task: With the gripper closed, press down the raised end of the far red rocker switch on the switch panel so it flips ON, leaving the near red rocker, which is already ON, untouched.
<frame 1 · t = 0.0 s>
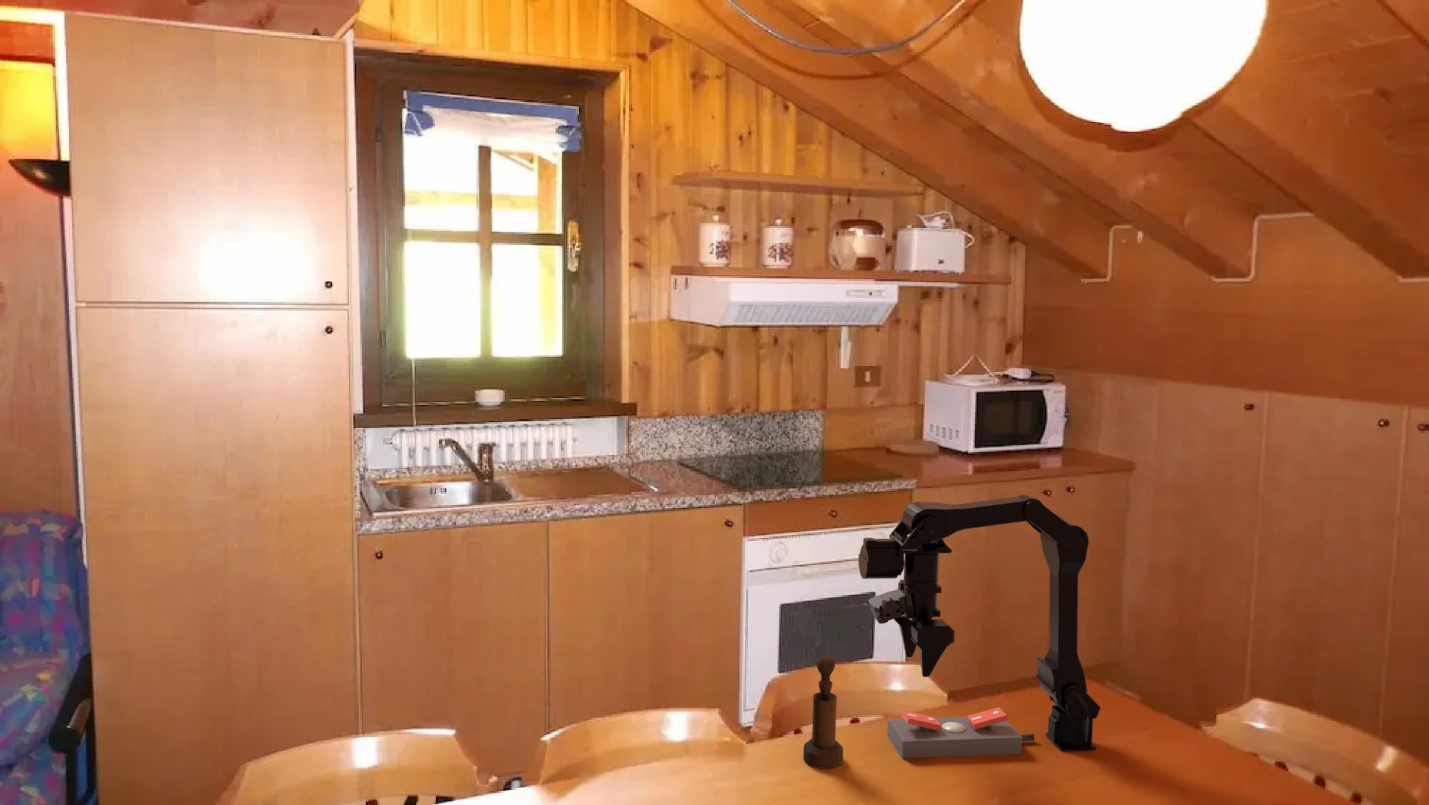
hand: (917, 666, 174), 15 cm above the table, tool pointing down, fingers open, 9 cm apart
switch far: (921, 720, 176), point 5 cm above the table, hinge at -14.0°
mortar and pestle: (823, 761, 171), on the table
switch panel: (953, 744, 177), on the table
switch near: (987, 718, 178), point 5 cm above the table, hinge at 14.0°
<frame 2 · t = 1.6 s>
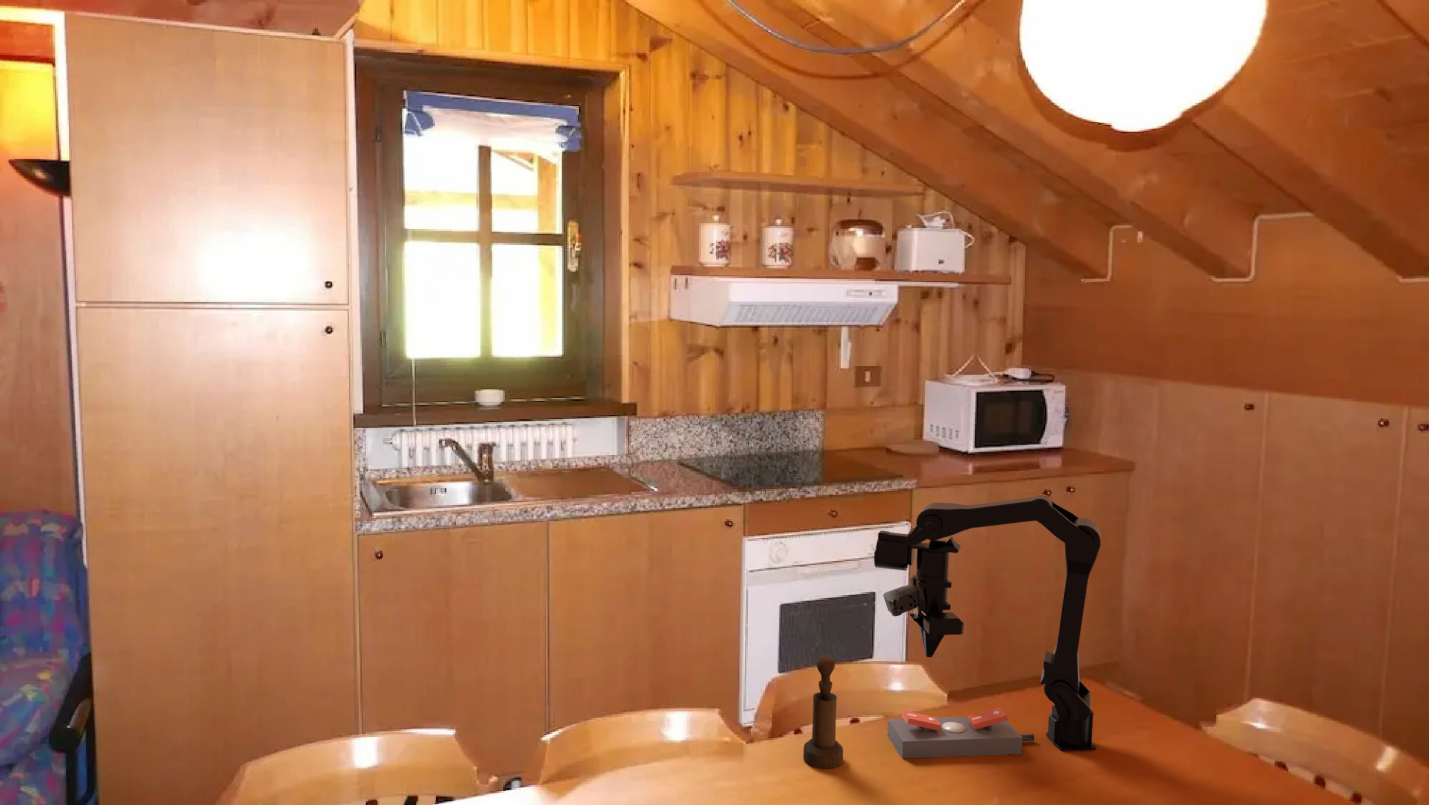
hand: (928, 656, 186), 12 cm above the table, tool pointing down, fingers closed
nothing on the table moved.
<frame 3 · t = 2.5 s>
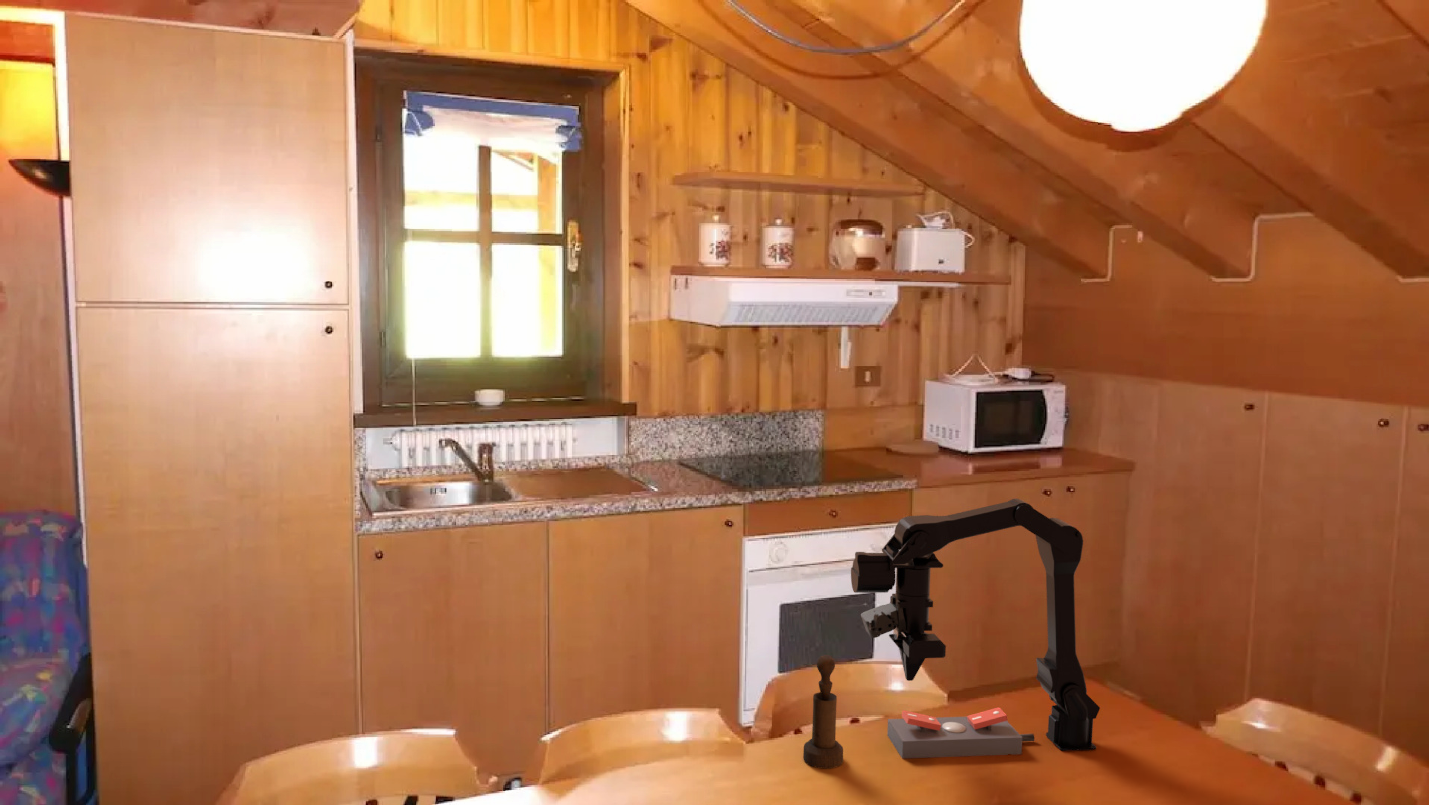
hand: (909, 679, 175), 12 cm above the table, tool pointing down, fingers closed
nothing on the table moved.
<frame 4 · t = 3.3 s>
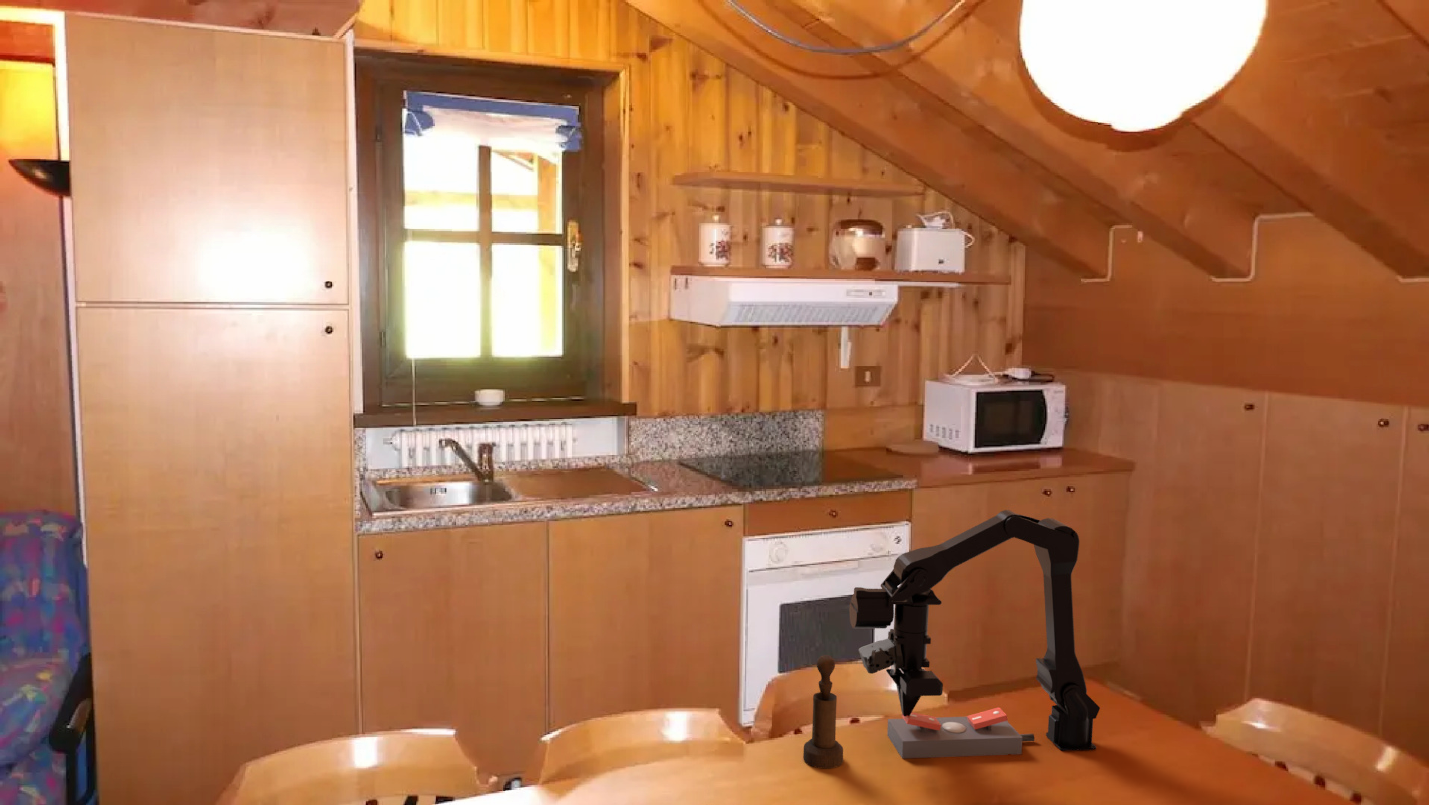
hand: (905, 715, 176), 6 cm above the table, tool pointing down, fingers closed, pressing on switch far
switch far: (921, 720, 176), point 5 cm above the table, hinge at -13.5°, touching gripper
everything else where it was.
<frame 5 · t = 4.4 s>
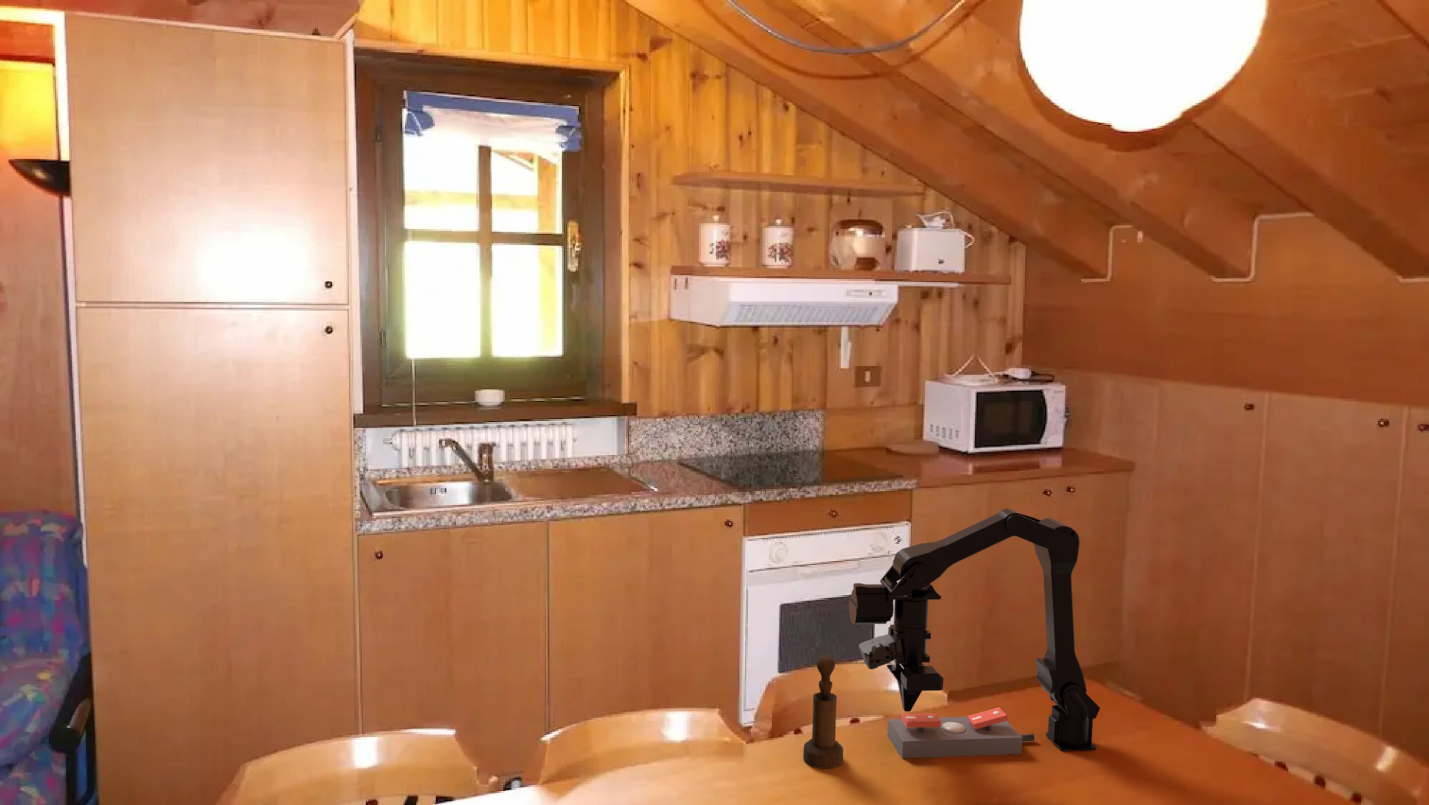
hand: (906, 710, 176), 6 cm above the table, tool pointing down, fingers closed
switch far: (920, 720, 176), point 5 cm above the table, hinge at -1.1°
everything else where it was.
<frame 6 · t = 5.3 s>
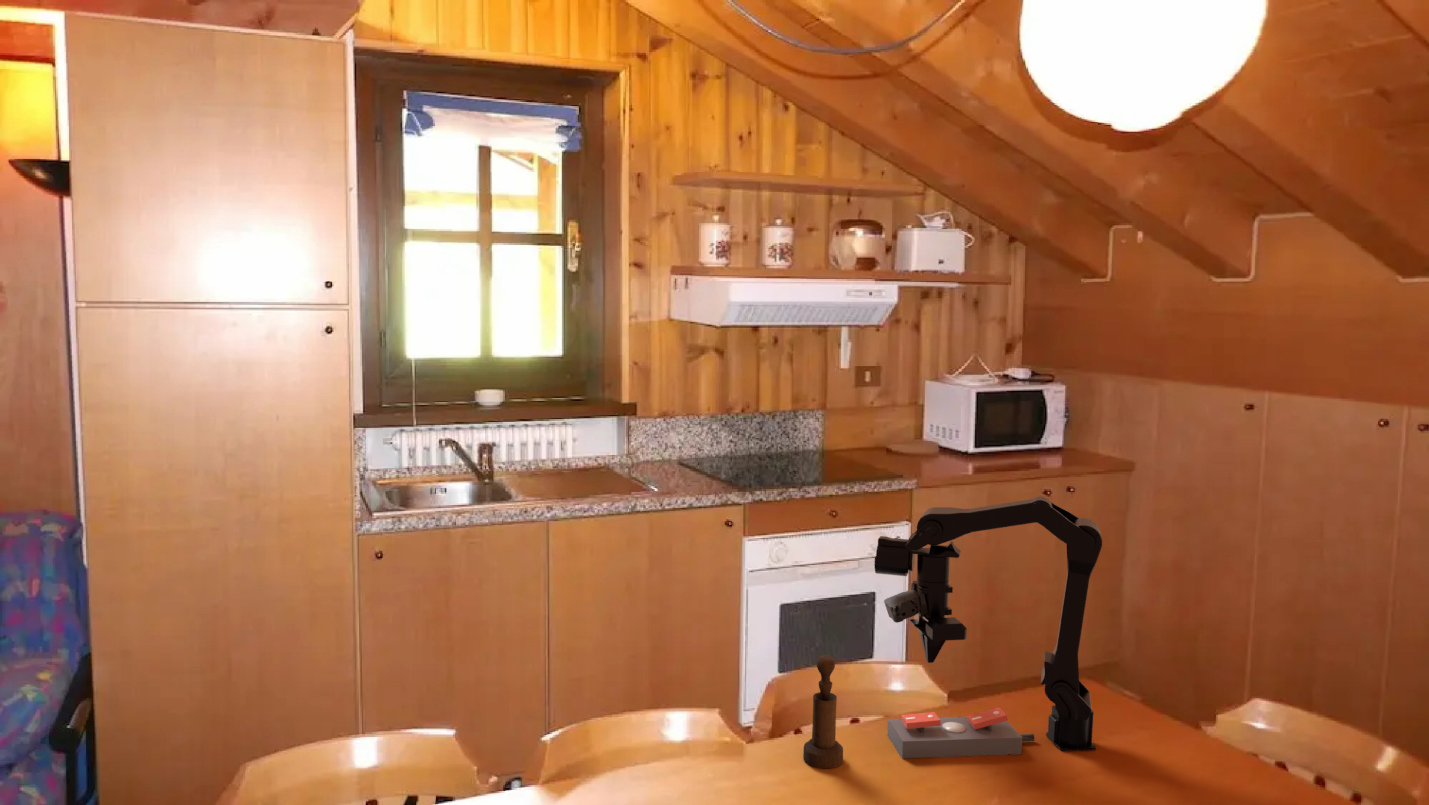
hand: (929, 662, 185), 11 cm above the table, tool pointing down, fingers closed
switch far: (920, 720, 176), point 5 cm above the table, hinge at 3.7°
everything else where it was.
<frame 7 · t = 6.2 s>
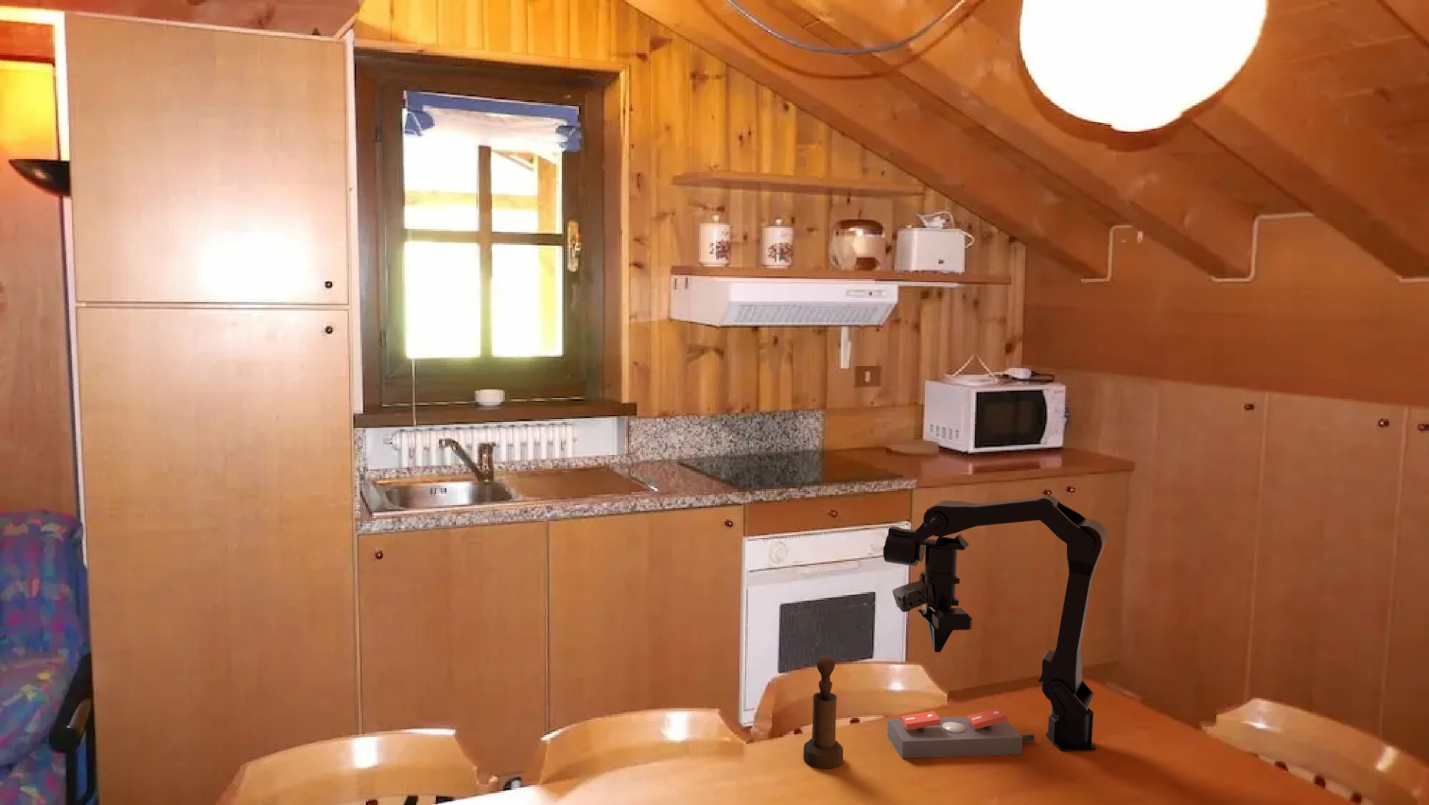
hand: (937, 651, 189), 12 cm above the table, tool pointing down, fingers closed
switch far: (920, 720, 176), point 5 cm above the table, hinge at 7.0°
everything else where it was.
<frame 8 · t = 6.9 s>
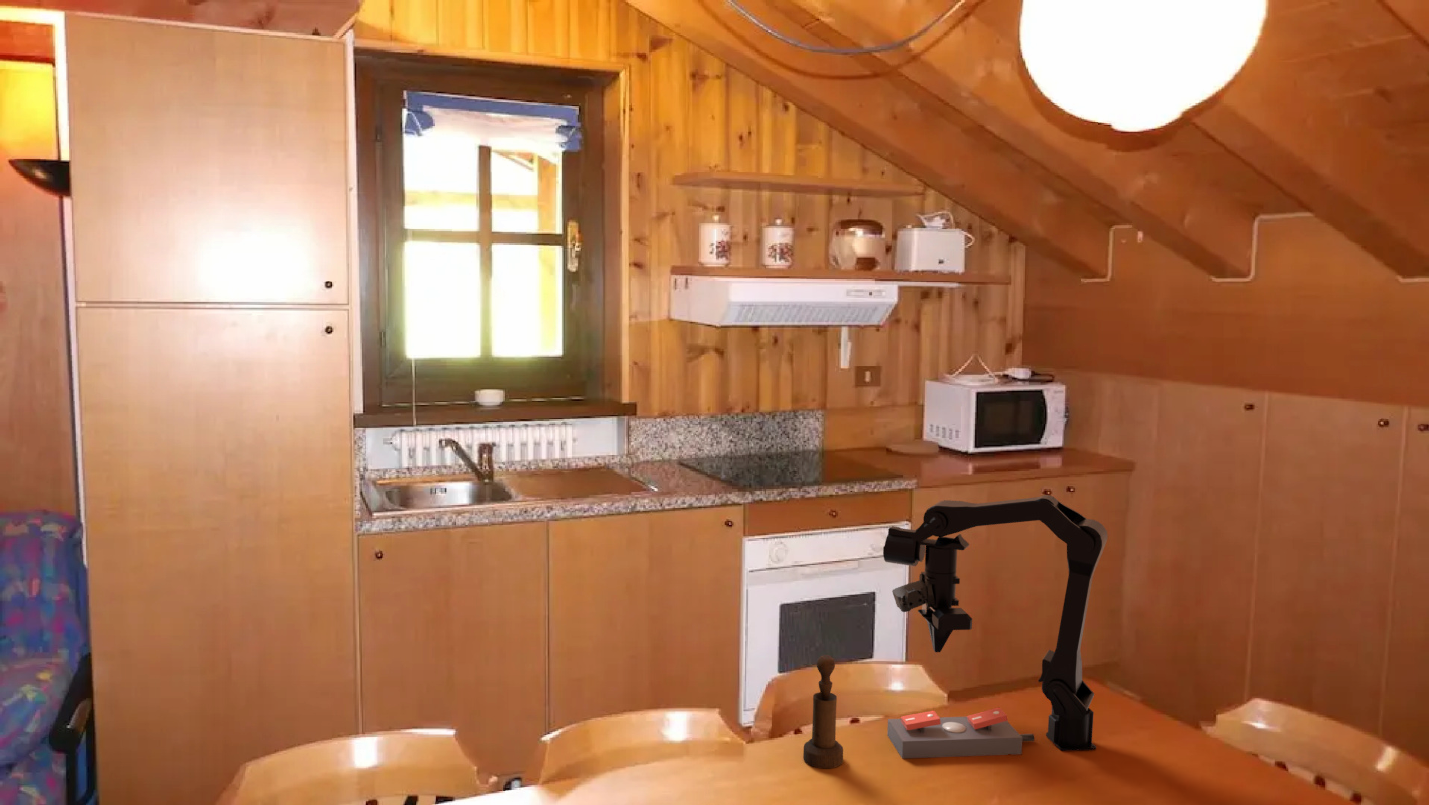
hand: (937, 651, 189), 12 cm above the table, tool pointing down, fingers closed
switch far: (920, 720, 176), point 5 cm above the table, hinge at 8.8°
everything else where it was.
at the end: switch far at +9° (first picture: -14°); switch near at +14° (first picture: +14°) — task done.
